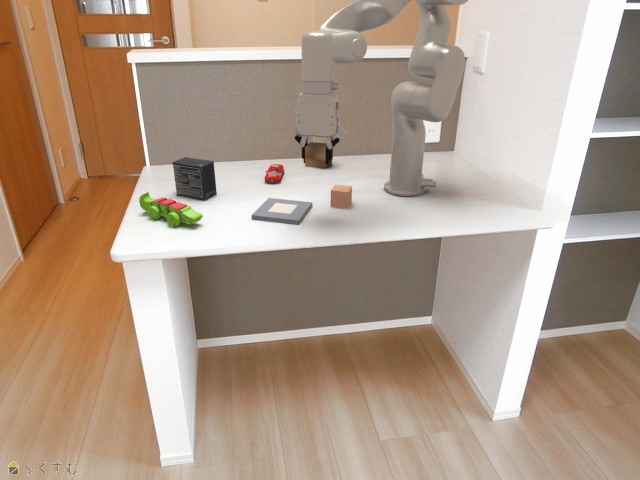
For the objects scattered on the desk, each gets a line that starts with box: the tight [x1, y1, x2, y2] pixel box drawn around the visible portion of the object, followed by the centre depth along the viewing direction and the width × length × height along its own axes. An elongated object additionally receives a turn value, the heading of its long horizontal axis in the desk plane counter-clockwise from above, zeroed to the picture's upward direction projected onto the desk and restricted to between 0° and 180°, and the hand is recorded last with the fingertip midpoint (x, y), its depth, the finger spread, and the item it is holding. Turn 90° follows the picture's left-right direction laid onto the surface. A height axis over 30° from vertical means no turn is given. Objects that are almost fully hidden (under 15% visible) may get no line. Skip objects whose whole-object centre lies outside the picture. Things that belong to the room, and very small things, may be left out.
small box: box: [172, 156, 218, 202], centre depth 146 cm, size 11×6×10 cm, turn 65°
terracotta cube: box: [330, 184, 353, 210], centre depth 140 cm, size 5×5×5 cm
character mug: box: [312, 136, 335, 167], centre depth 170 cm, size 11×7×13 cm, turn 14°
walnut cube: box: [304, 141, 328, 169], centre depth 124 cm, size 5×5×5 cm
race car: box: [264, 163, 285, 184], centre depth 161 cm, size 13×5×4 cm, turn 175°
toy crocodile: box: [138, 191, 203, 228], centre depth 130 cm, size 20×7×6 cm, turn 56°
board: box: [251, 197, 313, 225], centre depth 136 cm, size 13×13×1 cm
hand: (317, 161), depth 125 cm, fingers closed on walnut cube, 4 cm apart
